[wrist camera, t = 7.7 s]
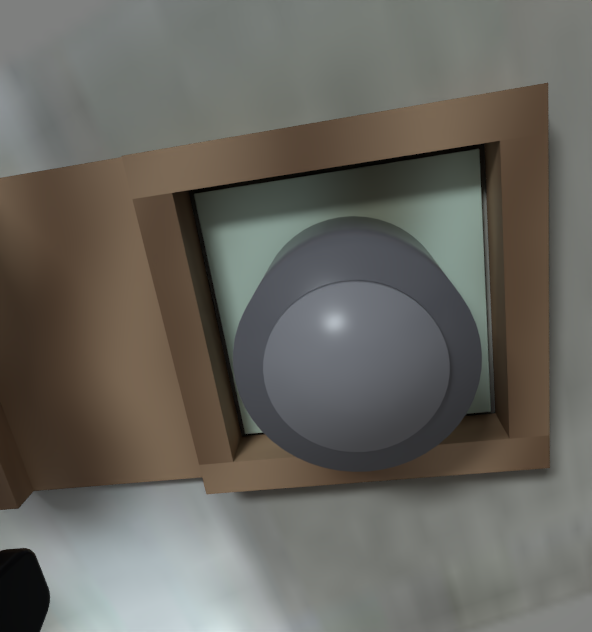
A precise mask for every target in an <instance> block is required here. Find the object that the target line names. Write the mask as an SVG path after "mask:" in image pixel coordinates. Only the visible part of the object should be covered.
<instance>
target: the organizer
mask: <svg viewBox="0 0 592 632" xmlns="http://www.w3.org/2000/svg"><path fill="white" fill-rule="evenodd" d="M482 143H484V145H485V170H486V194H487V219H488V243H489V268H490V293H491V317H492V342H493V367H494V391H495V413H493V414H482V415H471V416H464V418H463V419H462V421H461V422H460V424H459V425H458V426H457V427H456V428H455V429H454V430H453V432H452V433H451V434H450V435H449V436H448V437H447V438H446V439H444V440H443V441H442V442H441V443H440V444H439V445H437V446H436V447H434V448H433V449H431V450H430V451H429V452H427V453H426V454H424V455H422V456H420V457H418V458H416V459H414V460H412V461H409V462H407V463H404V464H401V465H399V466H395V467H391V468H387V469H383V470H375V471H366V472H350V471H338V470H333V469H328V468H323V467H320V466H317V465H314V464H311V463H308V462H306V461H304V460H301V459H299V458H297V457H295V456H293V455H292V454H290V453H288V452H287V451H285V450H283V449H282V448H281V447H279V446H278V445H277V444H275V443H274V442H273V441H271V440H270V439H269V438H268V437H267V436H266V435H265V434H262V435H251V436H242V434H241V429H240V425H239V420H238V415H237V411H236V406H235V402H234V397H233V392H232V388H231V383H230V379H229V374H228V369H227V365H226V360H225V356H224V351H223V346H222V342H221V337H220V333H219V328H218V323H217V319H216V314H215V310H214V305H213V300H212V296H211V291H210V287H209V282H208V277H207V273H206V268H205V263H204V259H203V254H202V250H201V245H200V240H199V236H198V231H197V227H196V222H195V217H194V213H193V208H192V204H191V199H190V194H189V190H193V189H199V188H206V187H212V186H218V185H224V184H231V183H237V182H243V181H250V180H256V179H262V178H268V177H275V176H281V175H287V174H294V173H300V172H306V171H312V170H319V169H325V168H331V167H338V166H344V165H350V164H356V163H363V162H369V161H375V160H382V159H388V158H394V157H401V156H407V155H413V154H419V153H426V152H432V151H438V150H445V149H451V148H457V147H463V146H470V145H476V144H482ZM194 197H195V202H196V207H197V211H198V216H199V221H200V225H201V230H202V234H203V239H204V244H205V248H206V253H207V258H208V262H209V267H210V272H211V276H212V281H213V286H214V290H215V295H216V300H217V304H218V309H219V314H220V318H221V323H222V328H223V332H224V337H225V342H226V346H227V351H228V356H229V360H230V365H231V370H232V374H233V379H234V384H235V388H236V393H237V398H238V402H239V407H240V412H241V416H242V421H243V426H244V430H245V434H251V433H262V431H261V430H260V428H259V427H258V426H257V425H256V423H255V422H254V421H253V420H252V418H251V416H250V415H249V413H248V412H247V410H246V408H245V406H244V404H243V402H242V400H241V397H240V395H239V392H238V389H237V385H236V382H235V376H234V369H233V348H234V341H235V335H236V332H237V328H238V325H239V322H240V320H241V317H242V315H243V313H244V311H245V309H246V307H247V305H248V303H249V301H250V300H251V298H252V296H253V294H254V293H255V291H256V289H257V287H258V286H259V284H260V282H261V280H262V279H263V277H264V275H265V273H266V272H267V270H268V268H269V266H270V265H271V263H272V261H273V260H274V258H275V257H276V255H277V254H278V252H279V251H280V250H281V249H282V248H283V247H284V245H285V244H286V243H288V242H289V241H290V240H291V239H292V238H293V237H294V236H296V235H297V234H299V233H300V232H302V231H303V230H305V229H306V228H308V227H310V226H312V225H314V224H317V223H320V222H322V221H325V220H328V219H333V218H338V217H347V216H360V217H369V218H375V219H379V220H382V221H385V222H388V223H391V224H393V225H395V226H397V227H399V228H401V229H403V230H405V231H406V232H407V233H409V234H410V235H412V236H413V237H414V238H415V239H417V240H418V241H419V242H420V243H421V244H422V245H423V246H424V247H425V249H426V250H427V251H428V252H429V253H430V255H431V256H432V257H433V259H434V260H435V261H436V263H437V264H438V265H439V267H440V268H441V269H442V271H443V272H444V273H445V275H446V276H447V277H448V279H449V280H450V281H451V283H452V284H453V285H454V287H455V288H456V289H457V291H458V292H459V294H460V295H461V296H462V298H463V299H464V301H465V303H466V304H467V306H468V307H469V309H470V311H471V313H472V316H473V318H474V320H475V322H476V325H477V329H478V333H479V336H480V341H481V350H482V370H481V375H480V381H479V385H478V388H477V391H476V394H475V397H474V400H473V402H472V404H471V406H470V408H469V410H468V412H467V413H466V414H470V413H481V412H491V406H490V383H489V361H488V338H487V315H486V292H485V269H484V246H483V223H482V201H481V178H480V155H479V149H473V150H467V151H461V152H454V153H448V154H442V155H435V156H429V157H423V158H416V159H410V160H404V161H397V162H391V163H385V164H378V165H372V166H366V167H359V168H353V169H347V170H340V171H334V172H328V173H321V174H315V175H309V176H302V177H296V178H289V179H283V180H277V181H270V182H264V183H258V184H251V185H245V186H239V187H232V188H226V189H220V190H213V191H207V192H201V193H195V194H194ZM543 468H550V440H549V171H548V83H544V84H538V85H532V86H527V87H521V88H515V89H509V90H503V91H497V92H492V93H486V94H480V95H474V96H468V97H462V98H457V99H451V100H445V101H439V102H433V103H427V104H422V105H416V106H410V107H404V108H398V109H392V110H387V111H381V112H375V113H369V114H363V115H357V116H352V117H346V118H340V119H334V120H328V121H322V122H317V123H311V124H305V125H299V126H293V127H287V128H282V129H276V130H270V131H264V132H258V133H252V134H247V135H241V136H235V137H229V138H223V139H217V140H212V141H206V142H200V143H194V144H188V145H182V146H177V147H171V148H165V149H159V150H153V151H147V152H142V153H136V154H130V155H124V156H122V157H120V158H114V159H108V160H103V161H97V162H91V163H85V164H79V165H73V166H68V167H62V168H56V169H50V170H44V171H38V172H32V173H27V174H21V175H15V176H9V177H3V178H0V510H5V509H18V508H19V507H20V506H21V505H22V504H23V503H24V501H25V500H26V499H27V498H28V497H29V496H30V495H31V494H32V492H33V491H39V490H52V489H64V488H76V487H89V486H101V485H113V484H126V483H138V482H151V481H163V480H175V479H188V478H200V477H202V478H203V482H204V486H205V490H206V494H215V493H228V492H241V491H254V490H267V489H281V488H294V487H307V486H320V485H333V484H346V483H359V482H372V481H385V480H398V479H412V478H425V477H438V476H451V475H464V474H477V473H490V472H503V471H516V470H530V469H543Z"/></svg>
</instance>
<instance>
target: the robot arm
mask: <svg viewBox="0 0 592 632" xmlns="http://www.w3.org/2000/svg"><path fill="white" fill-rule="evenodd" d="M49 603H50V592H49V588H48V586H47V583H46V581H45V578H44V575H43V573H42V570H41V568H40V565H39V563H38V560H37V558H36V555H35V553H34V552H32V551H31V550H30V549H27V548H20V549H6V550H2V551H0V632H40V630H41V628H42V625H43V622H44V620H45V617H46V614H47V612H48V608H49Z"/></svg>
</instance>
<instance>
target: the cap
mask: <svg viewBox="0 0 592 632" xmlns="http://www.w3.org/2000/svg"><path fill="white" fill-rule="evenodd" d="M233 369H234V376H235V382H236V385H237V389H238V392H239V395H240V397H241V400H242V402H243V404H244V406H245V408H246V410H247V412H248V413H249V415H250V416H251V418H252V420H253V421H254V422H255V423H256V425H257V426H258V427H259V428H260V430H261V431H262V432H263V433H264V434H265V435H266V436H267V437H268V438H269V439H270V440H271V441H273V442H274V443H275V444H277V445H278V446H279V447H281V448H282V449H283V450H285V451H287V452H288V453H290V454H292V455H293V456H295V457H297V458H299V459H301V460H304V461H306V462H308V463H311V464H314V465H317V466H320V467H323V468H328V469H333V470H338V471H350V472H366V471H375V470H383V469H387V468H391V467H395V466H399V465H401V464H404V463H407V462H409V461H412V460H414V459H416V458H418V457H420V456H422V455H424V454H426V453H427V452H429V451H430V450H431V449H433V448H434V447H436V446H437V445H439V444H440V443H441V442H442V441H443V440H444V439H446V438H447V437H448V436H449V435H450V434H451V433H452V432H453V430H454V429H455V428H456V427H457V426H458V425H459V424H460V422H461V421H462V419H463V418H464V416H465V415H466V413H467V412H468V410H469V408H470V406H471V404H472V402H473V400H474V397H475V394H476V391H477V388H478V385H479V381H480V375H481V370H482V350H481V341H480V336H479V333H478V329H477V325H476V322H475V320H474V318H473V316H472V313H471V311H470V309H469V307H468V306H467V304H466V303H465V301H464V299H463V298H462V296H461V295H460V294H459V292H458V291H457V289H456V288H455V287H454V285H453V284H452V283H451V281H450V280H449V279H448V277H447V276H446V275H445V273H444V272H443V271H442V269H441V268H440V267H439V265H438V264H437V263H436V261H435V260H434V259H433V257H432V256H431V255H430V253H429V252H428V251H427V250H426V249H425V247H424V246H423V245H422V244H421V243H420V242H419V241H418V240H417V239H415V238H414V237H413V236H412V235H410V234H409V233H407V232H406V231H405V230H403V229H401V228H399V227H397V226H395V225H393V224H391V223H388V222H385V221H382V220H379V219H375V218H369V217H360V216H347V217H338V218H333V219H328V220H325V221H322V222H320V223H317V224H314V225H312V226H310V227H308V228H306V229H305V230H303V231H302V232H300V233H299V234H297V235H296V236H294V237H293V238H292V239H291V240H290V241H289V242H288V243H286V244H285V245H284V247H283V248H282V249H281V250H280V251H279V252H278V254H277V255H276V257H275V258H274V260H273V261H272V263H271V265H270V266H269V268H268V270H267V272H266V273H265V275H264V277H263V279H262V280H261V282H260V284H259V286H258V287H257V289H256V291H255V293H254V294H253V296H252V298H251V300H250V301H249V303H248V305H247V307H246V309H245V311H244V313H243V315H242V317H241V320H240V322H239V325H238V328H237V332H236V335H235V341H234V348H233Z"/></svg>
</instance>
